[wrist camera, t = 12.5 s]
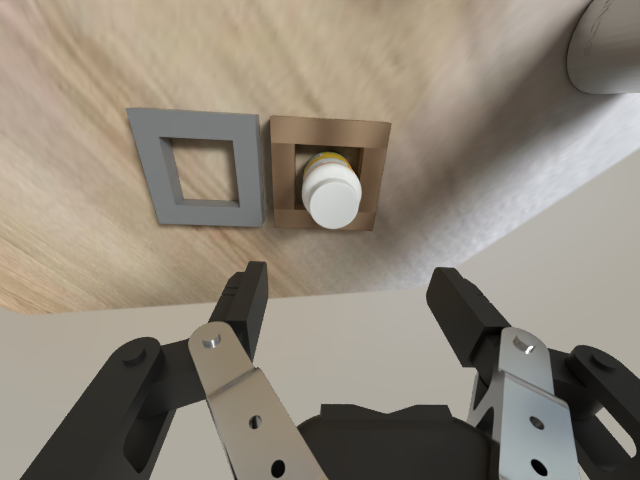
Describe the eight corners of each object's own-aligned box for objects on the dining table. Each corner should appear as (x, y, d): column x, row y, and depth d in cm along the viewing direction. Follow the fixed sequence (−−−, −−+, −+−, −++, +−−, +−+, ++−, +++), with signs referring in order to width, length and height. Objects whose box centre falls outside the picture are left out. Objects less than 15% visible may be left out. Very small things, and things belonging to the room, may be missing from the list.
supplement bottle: (346, 200, 29) (360, 240, 21) (301, 195, 29) (297, 233, 20) (355, 154, 27) (375, 178, 18) (306, 147, 26) (304, 168, 18)
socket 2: (385, 122, 25) (391, 123, 24) (369, 223, 31) (372, 230, 29) (272, 115, 25) (269, 116, 23) (276, 220, 30) (274, 227, 29)
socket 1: (258, 114, 25) (254, 115, 23) (265, 219, 30) (262, 227, 29) (139, 107, 24) (125, 107, 22) (168, 216, 30) (159, 223, 28)
